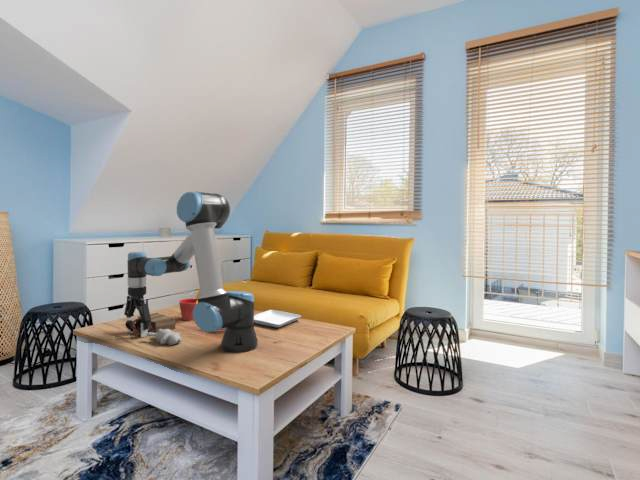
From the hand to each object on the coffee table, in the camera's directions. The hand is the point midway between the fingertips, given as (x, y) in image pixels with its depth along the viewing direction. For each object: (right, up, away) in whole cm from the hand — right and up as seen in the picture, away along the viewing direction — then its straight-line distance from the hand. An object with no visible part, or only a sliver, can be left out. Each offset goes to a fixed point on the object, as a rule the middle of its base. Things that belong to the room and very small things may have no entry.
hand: (137, 333), depth 170 cm
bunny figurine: (+17, -1, -9) cm, 19 cm away
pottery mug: (0, 0, +1) cm, 1 cm away
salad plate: (+59, -1, +26) cm, 65 cm away
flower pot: (+14, +1, +28) cm, 31 cm away
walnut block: (+4, 0, +11) cm, 11 cm away
